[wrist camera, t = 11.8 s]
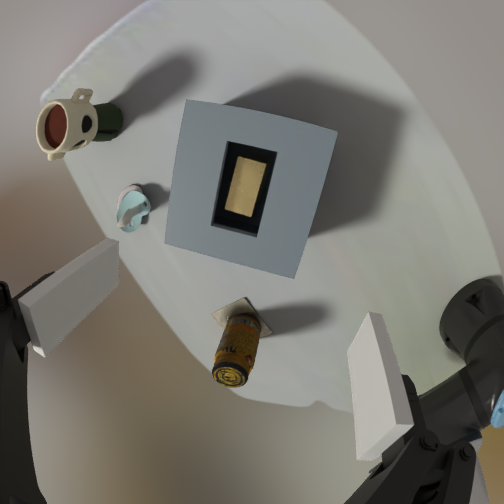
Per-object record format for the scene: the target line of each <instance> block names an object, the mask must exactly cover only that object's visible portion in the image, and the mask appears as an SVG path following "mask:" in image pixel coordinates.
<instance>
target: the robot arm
mask: <svg viewBox="0 0 504 504" xmlns="http://www.w3.org/2000/svg"><path fill="white" fill-rule="evenodd" d="M118 286H119V241H116V240H113V239H110V238H106V239H105V240H103V241H102V242H100V243H98V244H97V245H95V246H94V247H92V248H91V249H89V250H88V251H86V252H85V253H83V254H81V255H80V256H79V257H77V258H76V259H74V260H73V261H71V262H70V263H68V264H67V265H65V266H64V267H62V268H61V269H59V270H58V271H57V272H51V273H49V274H46V275H44V276H42V277H41V278H40V279H38V281H35V282H34V283H33V284H32V285H30V286H29V287H27V288H26V289H24V290H23V291H22V292H21V293H19V294H18V295H17V296H15V297H14V298H11V295H10V291H9V287H8V285H7V283H5V282H4V281H0V504H47V502H46V500H45V498H44V496H43V495H42V494H41V492H40V490H39V487H38V484H37V479H36V474H35V468H34V463H33V457H32V450H31V442H30V433H29V421H28V404H27V365H28V364H27V363H28V347H27V344H28V343H29V342H30V341H31V343H32V345H33V348H34V350H35V351H36V352H38V353H39V354H41V355H42V356H43V357H45V358H46V357H47V356H48V355H49V354H50V353H51V352H52V351H53V350H54V348H55V347H56V346H57V345H58V344H59V343H60V342H61V341H62V340H63V339H64V338H65V337H66V336H67V335H68V334H69V333H70V332H71V331H72V330H73V329H74V328H75V327H76V326H77V325H78V324H79V323H80V322H81V321H82V320H83V319H84V318H85V317H86V316H87V315H88V314H89V313H90V312H91V311H92V310H93V309H94V308H95V307H96V306H97V305H99V304H100V303H101V302H102V301H103V300H104V299H105V298H106V297H107V296H108V295H109V294H110V293H111V292H112V291H113V290H114V289H116V288H117V287H118ZM439 329H440V335H441V337H442V339H443V341H444V343H445V345H446V346H447V347H448V348H449V349H450V350H452V351H453V352H454V353H455V354H457V355H458V356H459V357H460V358H462V359H463V360H464V361H465V363H466V366H465V367H464V368H462V369H461V370H459V371H458V372H456V373H455V374H454V375H452V376H451V377H449V378H448V379H446V380H445V381H443V382H442V383H440V384H439V385H437V386H435V387H434V388H432V389H430V390H429V391H427V392H425V393H424V394H422V395H419V396H418V395H417V392H416V388H415V385H414V383H413V382H412V380H411V379H410V377H409V376H408V375H402V374H401V373H400V369H399V366H398V362H397V359H396V356H395V353H394V350H393V347H392V343H391V340H390V337H389V334H388V332H387V329H386V326H385V323H384V320H383V317H382V315H381V314H377V313H373V312H369V311H368V313H367V315H366V317H365V319H364V321H363V323H362V325H361V327H360V329H359V331H358V332H357V334H356V336H355V338H354V340H353V342H352V343H351V345H350V347H349V349H348V351H347V356H348V364H349V372H350V380H351V389H352V399H353V409H354V421H355V435H356V452H357V460H375V459H376V458H377V457H378V456H380V455H381V454H382V462H381V463H379V464H378V465H377V466H376V467H374V468H373V469H371V470H370V471H369V473H371V472H372V473H371V474H370V476H369V477H368V478H367V479H366V480H365V481H364V482H363V484H362V485H361V486H360V487H359V488H358V489H357V490H356V492H354V494H353V495H352V496H351V497H350V498H349V499H348V500H347V501H346V502H345V503H344V504H490V503H489V498H488V493H487V489H486V484H485V480H484V476H483V473H482V469H481V465H480V462H479V458H478V451H479V449H480V447H481V444H482V442H483V439H482V435H481V432H480V431H481V430H482V429H484V428H485V427H486V426H488V425H490V424H491V425H492V426H494V427H495V428H501V427H503V426H504V295H503V293H502V291H501V290H500V289H499V287H498V286H497V285H496V284H495V283H494V282H492V281H490V280H477V281H475V282H472V283H470V284H468V285H467V286H465V287H464V288H462V289H461V290H460V291H459V292H458V293H457V294H456V295H455V296H454V297H453V298H452V299H451V301H450V302H449V303H448V305H447V307H446V308H445V310H444V312H443V315H442V317H441V321H440V327H439Z"/></svg>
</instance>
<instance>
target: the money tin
mask: <svg viewBox="0 0 504 504" xmlns="http://www.w3.org/2000/svg"><path fill="white" fill-rule="evenodd" d="M337 134H338V132H337V131H334V130H331V129H328V128H324V127H321V126H317V125H314V124H310V123H307V122H303V121H299V120H295V119H291V118H287V117H283V116H279V115H274V114H270V113H265V112H261V111H256V110H251V109H246V108H240V107H235V106H229V105H223V104H217V103H210V102H203V101H195V100H186V103H185V108H184V113H183V118H182V123H181V128H180V134H179V139H178V145H177V151H176V157H175V163H174V170H173V177H172V184H171V191H170V199H169V207H168V215H167V224H166V234H165V244H168V245H172V246H175V247H179V248H182V249H186V250H190V251H193V252H197V253H200V254H204V255H208V256H211V257H215V258H218V259H222V260H226V261H229V262H233V263H237V264H240V265H244V266H248V267H251V268H255V269H259V270H263V271H266V272H270V273H274V274H277V275H281V276H285V277H289V278H293V279H294V278H295V275H296V272H297V269H298V266H299V263H300V260H301V257H302V254H303V250H304V247H305V244H306V241H307V238H308V235H309V232H310V228H311V225H312V222H313V219H314V215H315V212H316V209H317V205H318V202H319V199H320V195H321V192H322V188H323V185H324V182H325V178H326V175H327V171H328V167H329V164H330V160H331V157H332V153H333V149H334V146H335V142H336V138H337ZM250 151H251V152H254V153H258V154H261V155H265V156H268V157H272V162H271V165H270V169H269V172H268V175H267V179H266V182H265V186H264V189H263V192H262V196H261V199H260V202H259V203H258V205H257V207H256V209H255V211H254V213H253V214H252V216H251V217H249V216H246V215H243V214H239V213H236V212H233V211H229V210H226V209H225V206H226V202H227V198H228V194H229V190H230V186H231V182H232V178H233V175H234V171H235V167H236V163H237V159H238V156H240V155H243V154H245V153H248V152H250Z"/></svg>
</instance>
